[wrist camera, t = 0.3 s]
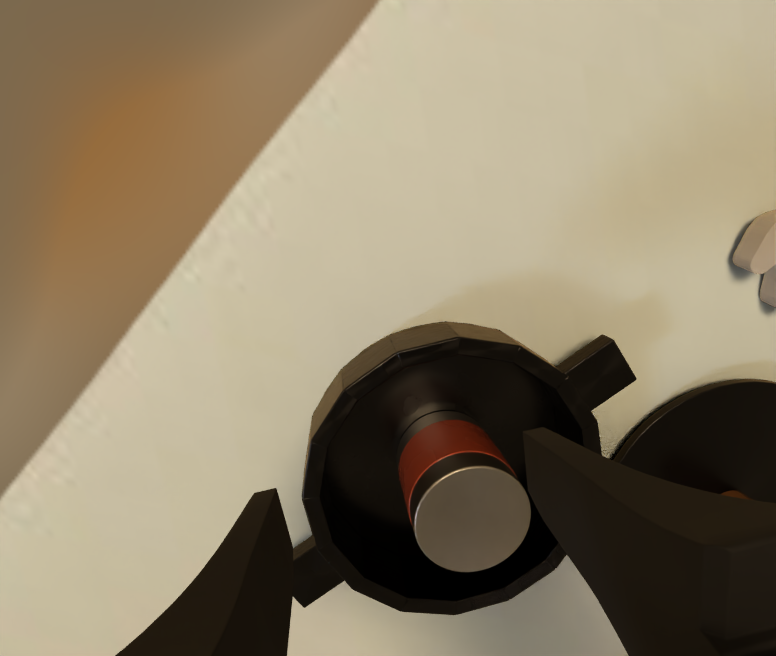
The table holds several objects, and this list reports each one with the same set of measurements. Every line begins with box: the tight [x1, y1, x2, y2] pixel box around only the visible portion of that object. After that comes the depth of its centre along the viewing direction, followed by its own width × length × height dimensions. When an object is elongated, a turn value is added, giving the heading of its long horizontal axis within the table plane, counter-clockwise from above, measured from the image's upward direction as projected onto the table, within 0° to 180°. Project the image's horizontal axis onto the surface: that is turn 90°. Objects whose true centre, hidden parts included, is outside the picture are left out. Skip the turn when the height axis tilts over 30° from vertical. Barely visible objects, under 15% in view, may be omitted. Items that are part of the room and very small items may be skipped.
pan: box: [293, 322, 636, 615], centre depth 24 cm, size 14×19×3 cm
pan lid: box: [613, 379, 776, 503], centre depth 26 cm, size 15×15×6 cm
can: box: [396, 411, 531, 572], centre depth 23 cm, size 5×5×6 cm
